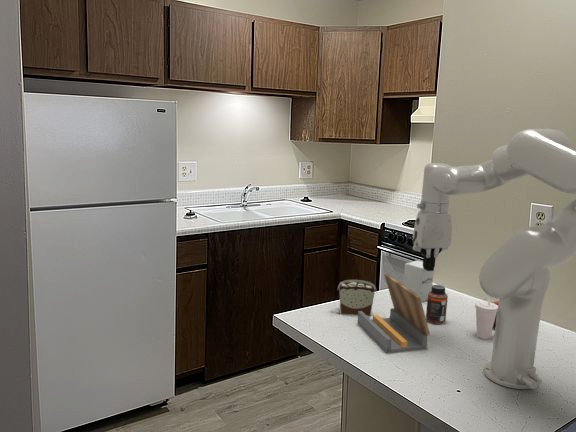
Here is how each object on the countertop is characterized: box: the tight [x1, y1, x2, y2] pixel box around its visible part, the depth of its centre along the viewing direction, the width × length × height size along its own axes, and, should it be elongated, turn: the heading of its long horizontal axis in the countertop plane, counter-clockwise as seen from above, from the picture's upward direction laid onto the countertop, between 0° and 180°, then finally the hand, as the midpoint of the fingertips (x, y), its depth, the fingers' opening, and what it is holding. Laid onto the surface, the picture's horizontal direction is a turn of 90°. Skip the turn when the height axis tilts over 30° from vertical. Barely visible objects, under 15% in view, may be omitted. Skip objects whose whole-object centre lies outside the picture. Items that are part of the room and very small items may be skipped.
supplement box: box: [402, 259, 435, 303], centre depth 178 cm, size 7×7×13 cm
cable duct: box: [357, 307, 428, 354], centre depth 149 cm, size 20×12×4 cm, turn 15°
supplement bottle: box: [425, 284, 449, 325], centre depth 160 cm, size 6×6×11 cm
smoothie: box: [474, 295, 498, 340], centre depth 149 cm, size 6×6×14 cm
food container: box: [337, 279, 378, 317], centre depth 165 cm, size 12×6×10 cm, turn 84°
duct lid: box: [383, 273, 431, 337], centre depth 148 cm, size 20×12×1 cm
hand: (428, 269), depth 148 cm, fingers closed
